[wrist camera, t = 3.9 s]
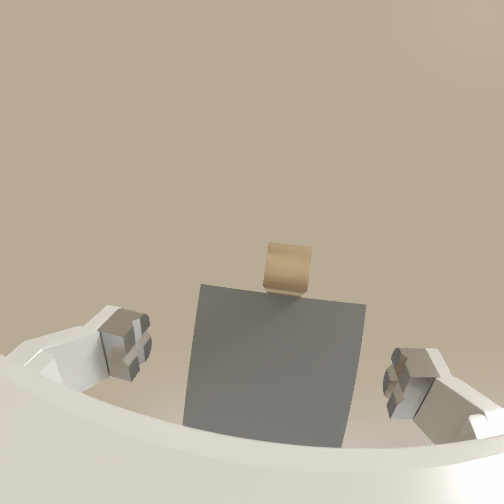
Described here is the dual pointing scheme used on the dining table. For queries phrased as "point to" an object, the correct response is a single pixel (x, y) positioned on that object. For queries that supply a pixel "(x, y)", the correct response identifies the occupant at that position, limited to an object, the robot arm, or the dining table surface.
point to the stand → (273, 366)
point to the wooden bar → (287, 269)
